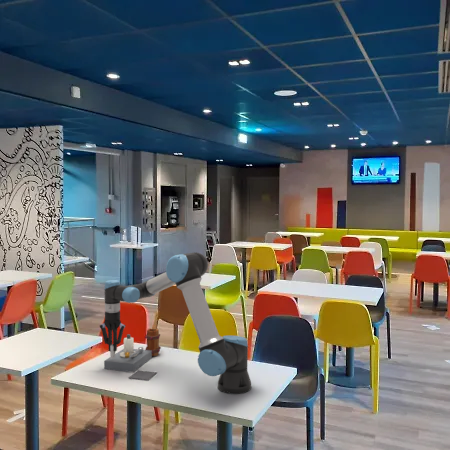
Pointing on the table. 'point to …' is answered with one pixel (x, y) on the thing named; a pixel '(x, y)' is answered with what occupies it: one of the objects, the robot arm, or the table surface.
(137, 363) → the socket
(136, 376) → the pad
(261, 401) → the table surface
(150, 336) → the mug
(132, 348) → the plug
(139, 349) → the clip
